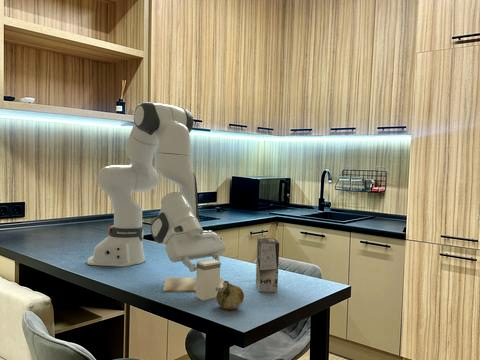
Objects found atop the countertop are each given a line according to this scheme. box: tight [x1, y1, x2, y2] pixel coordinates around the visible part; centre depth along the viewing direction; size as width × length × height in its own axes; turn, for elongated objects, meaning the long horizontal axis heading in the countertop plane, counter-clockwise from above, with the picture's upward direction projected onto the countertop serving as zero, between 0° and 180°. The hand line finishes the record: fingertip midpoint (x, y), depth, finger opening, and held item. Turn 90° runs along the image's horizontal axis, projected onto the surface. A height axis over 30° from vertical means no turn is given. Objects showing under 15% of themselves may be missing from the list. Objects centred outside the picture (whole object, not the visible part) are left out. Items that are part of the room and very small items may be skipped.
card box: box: [195, 258, 221, 301], centre depth 132 cm, size 4×6×11 cm
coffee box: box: [255, 237, 280, 293], centre depth 143 cm, size 9×6×16 cm
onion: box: [215, 280, 245, 310], centre depth 123 cm, size 8×8×8 cm
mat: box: [162, 277, 225, 293], centre depth 144 cm, size 20×14×1 cm
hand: (206, 268), depth 133 cm, fingers open, 8 cm apart
